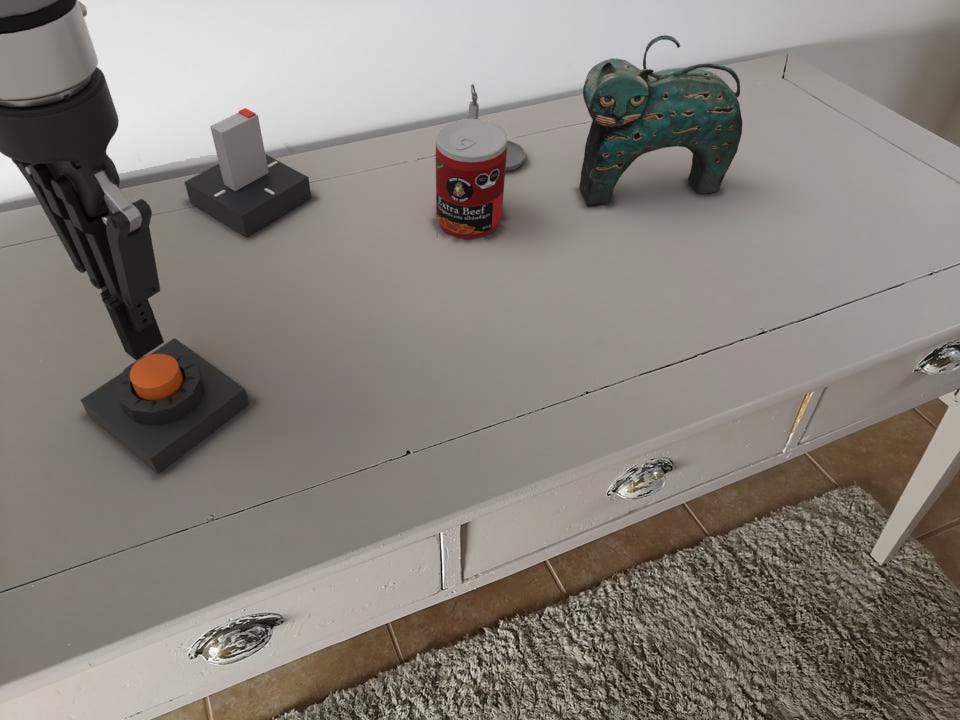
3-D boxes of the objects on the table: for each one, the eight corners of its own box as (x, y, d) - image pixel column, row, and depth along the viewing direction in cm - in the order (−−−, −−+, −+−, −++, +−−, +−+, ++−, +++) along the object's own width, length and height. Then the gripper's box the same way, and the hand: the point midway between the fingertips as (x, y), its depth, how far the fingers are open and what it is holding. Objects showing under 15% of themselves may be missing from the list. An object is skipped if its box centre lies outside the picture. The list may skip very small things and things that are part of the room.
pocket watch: (534, 165, 100) (542, 92, 93) (479, 183, 97) (482, 110, 89) (500, 135, 105) (504, 64, 97) (446, 151, 101) (446, 79, 94)
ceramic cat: (575, 213, 93) (600, 51, 79) (561, 182, 98) (582, 23, 83) (729, 199, 96) (780, 41, 82) (708, 170, 101) (754, 14, 86)
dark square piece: (88, 415, 70) (72, 386, 67) (180, 353, 75) (169, 324, 72) (157, 474, 66) (144, 445, 63) (249, 404, 71) (241, 375, 68)
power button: (125, 385, 68) (119, 372, 66) (164, 360, 70) (158, 346, 69) (154, 408, 66) (148, 395, 65) (192, 381, 68) (187, 368, 67)
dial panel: (190, 203, 92) (183, 180, 89) (255, 167, 97) (251, 145, 95) (246, 237, 88) (241, 214, 85) (311, 198, 93) (308, 175, 91)
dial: (235, 191, 89) (221, 130, 83) (223, 184, 89) (209, 124, 84) (269, 172, 91) (257, 112, 86) (257, 166, 92) (245, 106, 86)
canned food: (426, 231, 90) (424, 148, 82) (450, 194, 95) (451, 111, 87) (489, 247, 88) (494, 163, 80) (509, 208, 93) (516, 125, 85)
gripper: (155, 90, 47) (232, 358, 64) (34, 26, 52) (135, 290, 69) (39, 140, 43) (155, 413, 60) (-80, 65, 48) (58, 336, 65)
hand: (144, 347), depth 64 cm, fingers closed
